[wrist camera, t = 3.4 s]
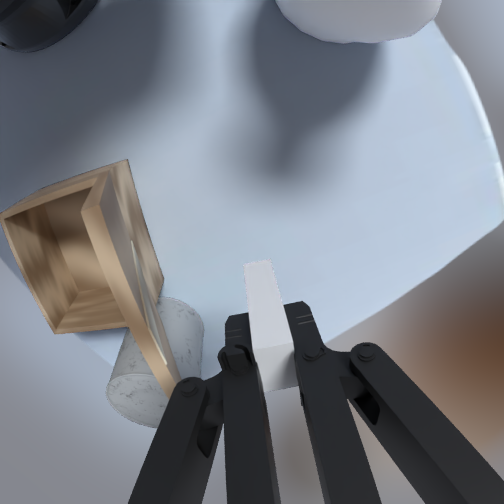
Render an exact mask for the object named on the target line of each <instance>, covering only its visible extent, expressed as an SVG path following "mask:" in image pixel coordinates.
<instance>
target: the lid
mask: <svg viewBox="0 0 504 504" xmlns="http://www.w3.org/2000/svg"><path fill="white" fill-rule="evenodd" d="M80 212H81V215H82V218H83V220H84V223H85V226H86V229H87V232H88V234H89V237H90V240H91V242H92V245H93V248H94V250H95V253H96V255H97V258H98V260H99V263H100V265H101V268H102V270H103V273H104V275H105V277H106V280H107V282H108V284H109V287H110V289H111V291H112V293H113V296H114V298H115V300H116V302H117V304H118V306H119V309H120V311H121V313H122V315H123V317H124V319H125V321H126V323H127V325H128V327H129V329H130V331H131V333H132V335H133V337H134V339H135V341H136V343H137V345H138V347H139V348H140V350H141V352H142V354H143V356H144V358H145V360H146V361H147V363H148V365H149V367H150V369H151V370H152V372H153V374H154V376H155V377H156V379H157V381H158V382H159V384H160V386H161V388H162V389H163V391H164V393H165V394H166V396H167V397H168V399H170V397H171V394H172V392H173V390H174V387H175V386H176V384H177V383H178V382H180V381H181V380H182V379H181V376H180V373H179V371H178V368H177V365H176V362H175V359H174V356H173V354H172V351H171V348H170V345H169V342H168V339H167V336H166V332H165V329H164V326H163V323H162V320H161V318H160V316H159V313H158V311H157V308H156V306H155V304H154V301H153V299H152V296H151V294H150V291H149V289H148V286H147V284H146V281H145V278H144V276H143V272H142V268H141V264H140V262H139V259H138V256H137V253H136V250H135V248H134V245H133V242H132V241H131V240H130V237H129V234H128V231H127V228H126V225H125V222H124V219H123V215H122V212H121V209H120V206H119V203H118V199H117V196H116V193H115V189H114V186H113V182H112V179H111V175H110V172H109V170H108V171H106V172H103V173H100V174H99V175H98V177H97V179H96V181H95V183H94V185H93V187H92V189H91V191H90V193H89V195H88V197H87V199H86V201H85V203H84V205H83V207H82V209H81V211H80Z"/></svg>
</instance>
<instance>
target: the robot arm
mask: <svg viewBox="0 0 504 504" xmlns="http://www.w3.org/2000/svg"><path fill="white" fill-rule="evenodd" d="M97 1H98V0H0V46H2V47H3V48H5V49H8V50H12V51H19V52H33V51H37V50H41V49H44V48H46V47H48V46H50V45H52V44H54V43H56V42H57V41H59V40H60V39H62V38H63V37H65V36H66V35H67V34H69V33H70V32H71V31H72V30H73V29H74V28H75V27H77V26H78V25H79V24H80V23H81V21H82V20H83V19H84V18H85V17H86V16H87V15H88V13H89V12H90V11H91V10H92V8H93V7H94V5H95V4H96V2H97ZM243 267H244V276H245V285H246V294H247V303H248V313H243V314H237V315H232V316H229V317H228V319H227V321H226V323H225V347H223V348H222V349H221V350H220V351H219V353H218V360H219V363H220V365H221V368H222V371H221V372H220V373H219V374H217V375H216V376H214V377H212V378H209V379H207V380H204V381H203V380H202V379H201V378H198V377H187V378H185V379H182V380H181V381H180V382H178V383H177V384H176V386H175V387H174V390H173V392H172V394H171V397H170V399H169V402H168V404H167V407H166V409H165V411H164V414H163V416H162V419H161V421H160V424H159V426H158V429H157V431H156V434H155V436H154V438H153V441H152V443H151V446H150V449H149V451H148V454H147V456H146V458H145V461H144V464H143V466H142V468H141V471H140V474H139V476H138V479H137V481H136V484H135V486H134V489H133V491H132V494H131V497H130V499H129V502H128V504H202V500H203V497H204V493H205V489H206V486H207V482H208V478H209V475H210V471H211V467H212V464H213V460H214V456H215V453H216V449H217V445H218V441H219V438H220V434H221V430H222V426H223V423H224V441H225V468H226V489H227V504H281V500H280V494H279V487H278V481H277V474H276V467H275V461H274V453H273V447H272V440H271V433H270V426H269V419H268V413H267V405H266V400H265V397H264V392H269V391H275V390H280V389H286V388H291V387H296V386H299V389H300V397H301V405H302V406H303V410H304V414H305V418H306V423H307V427H308V431H309V436H310V440H311V444H312V449H313V453H314V457H315V462H316V466H317V471H318V475H319V480H320V484H321V488H322V493H323V497H324V502H325V504H382V503H381V500H380V497H379V494H378V490H377V487H376V484H375V481H374V478H373V475H372V472H371V469H370V465H369V462H368V459H367V456H366V453H365V450H364V447H363V444H362V442H361V439H360V436H359V433H358V430H357V427H356V424H355V421H354V419H353V415H352V412H351V410H350V407H349V404H348V401H347V399H349V401H350V403H351V404H352V405H353V407H354V408H355V409H356V411H357V412H358V413H359V415H360V416H361V418H362V419H363V420H364V421H365V423H366V424H367V426H368V427H369V428H370V430H371V431H372V432H373V434H374V435H375V436H376V438H377V439H378V441H379V442H380V443H381V445H382V446H383V447H384V449H385V450H386V451H387V453H388V454H389V455H390V457H391V458H392V460H393V461H394V462H395V464H396V465H397V466H398V467H399V469H400V470H401V472H402V473H403V474H404V476H405V477H406V478H407V480H408V481H409V482H410V484H411V485H412V486H413V488H414V489H415V490H416V492H417V493H418V494H419V496H420V497H421V498H422V500H423V501H424V502H425V504H504V481H503V480H502V478H501V477H500V476H499V475H498V474H497V473H496V472H495V470H494V469H493V468H492V467H491V466H490V465H489V464H488V462H487V461H486V460H485V459H484V458H483V457H482V456H481V455H480V453H479V452H478V451H477V450H476V449H475V448H474V447H473V446H472V445H471V444H470V442H469V441H468V440H467V439H466V438H465V437H464V436H463V435H462V434H461V433H460V431H459V430H458V429H457V428H456V427H455V426H454V425H453V424H452V423H451V422H450V421H449V419H448V418H447V417H446V416H445V415H444V414H443V413H442V412H441V411H440V410H439V409H438V408H437V407H436V405H435V404H434V403H433V402H432V401H431V400H430V399H429V398H428V397H427V396H426V395H425V394H424V393H423V392H422V391H421V390H420V389H419V387H418V386H417V385H416V384H415V383H414V382H413V381H412V380H411V379H410V378H409V377H408V376H407V375H406V374H405V373H404V372H403V371H402V369H401V368H400V367H399V366H398V365H397V364H396V363H395V362H394V361H393V360H392V359H391V358H390V357H389V356H388V355H387V354H386V353H385V352H384V351H383V350H382V349H381V348H380V347H379V346H378V345H376V344H373V343H360V344H357V345H356V346H354V347H353V348H352V350H351V352H338V351H333V350H331V349H329V348H327V347H326V346H325V345H324V343H323V342H322V339H321V336H320V334H319V331H318V328H317V326H316V323H315V321H314V318H313V315H312V312H311V310H310V307H309V306H308V305H307V304H306V303H304V302H303V301H300V302H295V303H290V304H286V305H283V302H282V299H281V295H280V291H279V288H278V284H277V281H276V277H275V273H274V270H273V266H272V262H271V259H266V260H261V261H256V262H250V263H245V264H243Z"/></svg>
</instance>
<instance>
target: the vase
mask: <svg viewBox="0 0 504 504" xmlns="http://www.w3.org/2000/svg"><path fill="white" fill-rule="evenodd" d="M275 1H276V3H277V5H278V7H279V8H280V10H281V12H282V14H283V16H284V17H285V18H287V19H288V20H289V21H290V22H291V23H292V24H293V25H295V26H296V27H297V28H298V29H299V30H300V31H301V32H304V33H306V34H308V35H310V36H313V37H315V38H317V39H319V40H321V41H325V42H334V43H341V44H347V43H351V42H363V43H380V42H385V41H390V40H395V39H401V38H406V37H410V36H412V35H414V34H415V33H417V32H418V31H419V30H420V29H422V28H423V27H424V26H425V25H427V24H428V23H429V22H430V21H431V20H433V19H434V18H435V16H436V15H437V14H438V11H439V8H440V4H441V1H442V0H275Z"/></svg>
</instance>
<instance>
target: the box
mask: <svg viewBox="0 0 504 504" xmlns="http://www.w3.org/2000/svg"><path fill="white" fill-rule="evenodd" d="M108 170H109V172H110V175H111V179H112V182H113V186H114V189H115V193H116V196H117V199H118V203H119V206H120V209H121V212H122V215H123V219H124V222H125V225H126V228H127V231H128V234H129V237H130V240H131V241H132V242H133V245H134V248H135V250H136V253H137V256H138V259H139V262H140V264H141V268H142V272H143V276H144V278H145V281H146V284H147V286H148V289H149V291H150V294H151V296H152V299H153V301H154V304H155V306H156V304H157V301H158V297H159V294H160V291H161V288H162V284H163V281H164V277H163V274H162V271H161V269H160V266H159V263H158V260H157V257H156V254H155V251H154V248H153V245H152V242H151V239H150V236H149V232H148V229H147V226H146V223H145V220H144V216H143V213H142V210H141V206H140V203H139V199H138V196H137V192H136V189H135V185H134V182H133V178H132V174H131V170H130V167H129V163H128V159H127V160H123V161H120V162H117V163H113V164H110V165H107V166H104V167H101V168H98V169H95V170H92V171H89V172H86V173H83V174H80V175H77V176H74V177H71V178H69V179H66V180H63V181H61V182H58V183H55V184H53V185H50V186H48V187H45V188H42V189H40V190H38V191H36V192H34V193H33V194H31V195H29V196H27V197H26V198H24V199H22V200H21V201H19V202H17V203H16V204H14V205H13V206H11V207H9V208H8V209H6V210H5V211H3V212H1V213H0V222H1V225H2V227H3V230H4V233H5V235H6V238H7V240H8V243H9V245H10V248H11V250H12V252H13V255H14V257H15V259H16V262H17V264H18V266H19V268H20V270H21V273H22V275H23V277H24V279H25V281H26V283H27V285H28V287H29V289H30V291H31V293H32V295H33V297H34V299H35V301H36V302H37V304H38V306H39V308H40V310H41V312H42V313H43V315H44V317H45V319H46V320H47V322H48V324H49V326H50V327H51V329H52V331H53V332H54V334H65V333H75V332H85V331H94V330H103V329H112V328H120V327H128V325H127V323H126V321H125V319H124V317H123V315H122V313H121V311H120V309H119V306H118V304H117V302H116V300H115V298H114V296H113V293H112V291H111V289H110V287H109V284H108V282H107V280H106V277H105V275H104V273H103V270H102V268H101V265H100V263H99V260H98V258H97V255H96V253H95V250H94V248H93V245H92V242H91V240H90V237H89V234H88V232H87V229H86V226H85V223H84V220H83V218H82V215H81V212H80V211H81V209H82V207H83V205H84V203H85V201H86V199H87V197H88V195H89V193H90V191H91V189H92V187H93V185H94V183H95V181H96V179H97V177H98V175H99V174H100V173H103V172H106V171H108Z"/></svg>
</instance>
